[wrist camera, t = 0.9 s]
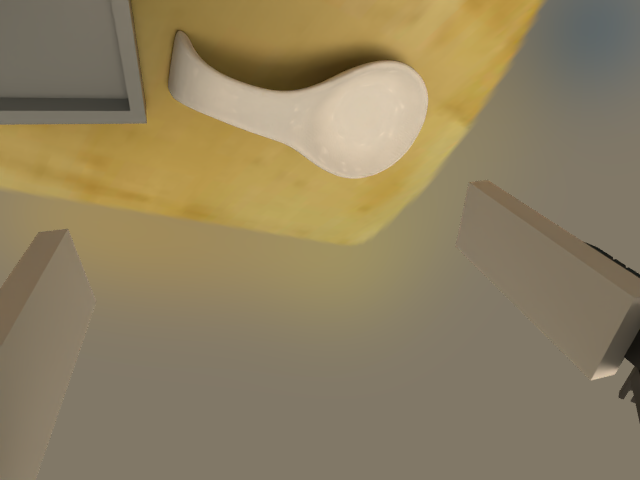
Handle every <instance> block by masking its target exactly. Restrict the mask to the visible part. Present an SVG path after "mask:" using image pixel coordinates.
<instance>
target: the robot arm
mask: <svg viewBox="0 0 640 480" xmlns="http://www.w3.org/2000/svg"><path fill="white" fill-rule="evenodd" d="M456 247H457V248H458V250H459V251H461V253H463V254H464V255H465V256H466V257H467V258H468V259H469V260H470V261H471V262H472V263H473V264H474V265H475V266H476V267H477V268H478V269H479V270H480V271H481V272H482V273H483V274H484V275H485V276H486V277H487V278H488V279H489V280H490V281H491V282H492V283H493V284H494V285H495V286H496V287H497V288H498V289H499V290H500V291H501V292H502V293H503V294H504V295H505V296H506V297H507V298H508V299H509V300H510V301H511V302H512V303H513V304H514V305H515V306H516V307H517V308H518V309H519V310H520V311H521V312H522V313H523V314H524V315H525V316H526V317H527V318H528V319H529V320H530V321H531V322H532V323H533V324H534V325H535V326H536V327H537V328H538V329H539V330H540V331H541V332H543V334H544V335H545V336H546V337H547V338H549V340H551V342H552V343H553V344H555V345H556V346H557V347H558V348H559V349H560V350H561V351H562V352H563V353H564V354H565V355H566V356H567V357H568V358H569V359H570V360H571V361H572V362H573V363H574V364H575V365H576V366H577V367H578V368H579V369H580V370H581V371H582V372H583V373H584V374H585V375H586V376H587V377H588V378H589V379H590V380H594V379H598V378H602V377H606V376H610V375H614V374H615V373H616V371H617V370H618V368H619V366H620V364H621V363H622V361H623V359H624V358H626V359H627V360H628V361H630V362H631V363H632V364H633V365H634V366H635V367H634V368H633V370H632V372H631V373H630V375H629V377H628V378H627V380H626V381H625V383H624V385H623V386H622V388H621V390H620V392H619V398H621V399H624V398H625V396H626V395H627V393H628V391H630V390H632V391H633V393H634V396H633V398H632V400H631V402H634V403H636V407H637V412H638V416H639V421H640V274H638V273H636V272H635V271H633V270H632V269H630V268H626V266H625V265H624V264H622V263H621V262H619V261H618V260H616V259H615V260H613V257H611V256H610V255H608V254H607V253H605V252H604V251H602V250H600V249H599V248H597V247H595V246H593V245H590V244H588V243H585V242H583V241H581V240H580V239H578V238H576V237H575V236H573V235H572V234H570V233H569V232H567V231H566V230H564V229H563V228H561V227H559V226H558V225H556V224H555V223H553V222H552V221H550V220H549V219H547V218H546V217H544V216H543V215H541V214H539V213H538V212H536V211H535V210H533V209H532V208H530V207H529V206H527V205H525V204H524V203H522V202H521V201H519V200H518V199H516V198H515V197H513V196H512V195H510V194H508V193H507V192H505V191H504V190H502V189H501V188H499V187H498V186H496V185H494V184H493V183H491V182H490V181H488V180H484V181H475V182H469V184H468V189H467V194H466V198H465V203H464V208H463V213H462V218H461V222H460V227H459V232H458V237H457V242H456ZM95 304H96V299H95V297H94V294H93V291H92V289H91V287H90V284H89V281H88V279H87V276H86V274H85V271H84V268H83V266H82V264H81V261H80V258H79V256H78V253H77V251H76V248H75V246H74V243H73V240H72V238H71V235H70V233H69V230H68V229H63V230H54V231H45V232H39V233H38V234H37V235H36V237H35V238H34V240H33V241H32V243H31V244H30V246H29V247H28V249H27V250H26V252H25V253H24V254H23V256H22V258H21V259H20V260H19V262H18V263H17V265H16V266H15V268H14V269H13V271H12V272H11V273H10V275H9V277H8V278H7V279H6V281H5V282H4V284H3V285H2V287H1V288H0V480H36V477H37V474H38V471H39V468H40V465H41V462H42V460H43V457H44V454H45V451H46V448H47V445H48V442H49V439H50V436H51V433H52V430H53V427H54V425H55V422H56V419H57V416H58V413H59V410H60V407H61V404H62V401H63V398H64V395H65V392H66V389H67V386H68V383H69V380H70V378H71V375H72V372H73V369H74V366H75V363H76V360H77V357H78V354H79V351H80V348H81V345H82V342H83V339H84V336H85V334H86V331H87V328H88V325H89V321H90V319H91V316H92V313H93V310H94V307H95Z"/></svg>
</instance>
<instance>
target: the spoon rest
mask: <svg viewBox="0 0 640 480" xmlns="http://www.w3.org/2000/svg"><path fill="white" fill-rule="evenodd" d="M168 88H169V91H170V93H171V95H172V96H173V97H174V98H175V99H176V100H177V101H179V102H180V103H182V104H184V105H186V106H188V107H190V108H192V109H194V110H196V111H198V112H201V113H203V114H205V115H208V116H210V117H213V118H215V119H218V120H220V121H223V122H225V123H228V124H230V125H233V126H236V127H238V128H241V129H244V130H246V131H249V132H252V133H255V134H258V135H261V136H264V137H267V138H270V139H273V140H275V141H279V142H281V143H284V144H286V145H288V146H290V147H291V148H293V149H295V150H296V151H298V152H299V153H301V154H302V155H303V156H304V157H306V158H307V159H308V160H310V161H311V162H313V163H314V164H315V165H317V166H318V167H320V168H322V169H323V170H325V171H327V172H329V173H332V174H334V175H337V176H340V177H344V178H363V177H368V176H372V175H375V174H377V173H380V172H381V171H383V170H385V169H387V168H389V167H390V166H392V165H393V164H394V163H396V162H397V161H398V160H399V159H400V158H401V157H402V156H403V155H404V154H405V153H406V152H407V151H408V149H409V148H410V147H411V145H412V144H413V142H414V140H415V139H416V137H417V135H418V134H419V132H420V130H421V128H422V126H423V123H424V120H425V117H426V113H427V107H428V93H427V89H426V86H425V83H424V81H423V79H422V78H421V76H420V75H419V74H418V73H417V72H416V71H415V70H414V69H413V68H411V67H410V66H408V65H406V64H404V63H402V62H398V61H392V60H383V61H374V62H370V63H365V64H362V65H359V66H356V67H354V68H351V69H349V70H346V71H344V72H341V73H339V74H337V75H335V76H333V77H331V78H329V79H327V80H325V81H323V82H321V83H318V84H315V85H313V86H310V87H307V88H302V89H297V90H291V91H277V90H270V89H265V88H261V87H257V86H253V85H250V84H246V83H244V82H241V81H238V80H235V79H233V78H231V77H228V76H226V75H224V74H222V73H220V72H218V71H217V70H215V69H214V68H212V67H211V66H209V65H208V64H207V63H206V62H205V61H204V60H202V59H201V57H200V56H199V55H198V54H197V52H196V51H195V49H194V47H193V45H192V43H191V41H190V39H189V38H188V36H187V35H186V34H185V33H184V32H182V31H178V32H177V33H176V36H175V41H174V47H173V53H172V60H171V66H170V74H169V81H168Z"/></svg>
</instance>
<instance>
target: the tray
mask: <svg viewBox="0 0 640 480" xmlns="http://www.w3.org/2000/svg"><path fill="white" fill-rule="evenodd" d="M124 123H147V119H146V103H145V96H144V89H143V82H142V75H141V68H140V61H139V54H138V47H137V41H136V34H135V27H134V20H133V13H132V6H131V0H0V124H124Z"/></svg>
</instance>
